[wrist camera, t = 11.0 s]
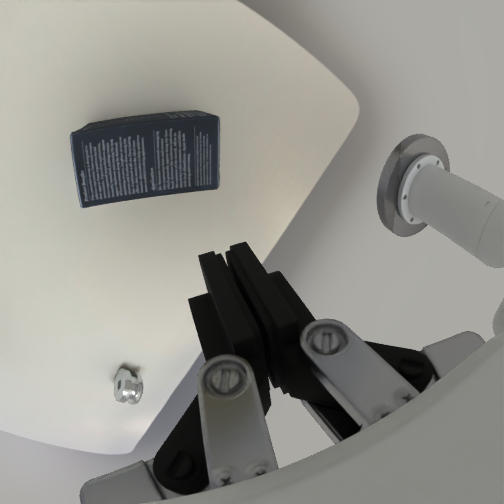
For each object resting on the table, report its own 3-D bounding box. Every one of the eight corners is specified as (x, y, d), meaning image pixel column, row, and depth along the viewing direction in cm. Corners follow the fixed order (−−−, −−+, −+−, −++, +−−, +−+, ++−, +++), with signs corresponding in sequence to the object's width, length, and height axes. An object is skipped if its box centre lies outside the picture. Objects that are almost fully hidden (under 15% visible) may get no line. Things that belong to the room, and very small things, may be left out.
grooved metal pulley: (123, 361, 37) (126, 389, 33) (142, 366, 39) (146, 394, 35) (112, 380, 38) (115, 407, 34) (130, 384, 40) (134, 410, 36)
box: (200, 166, 28) (92, 179, 24) (200, 109, 25) (87, 121, 22) (220, 191, 22) (78, 210, 18) (221, 115, 19) (67, 132, 15)
